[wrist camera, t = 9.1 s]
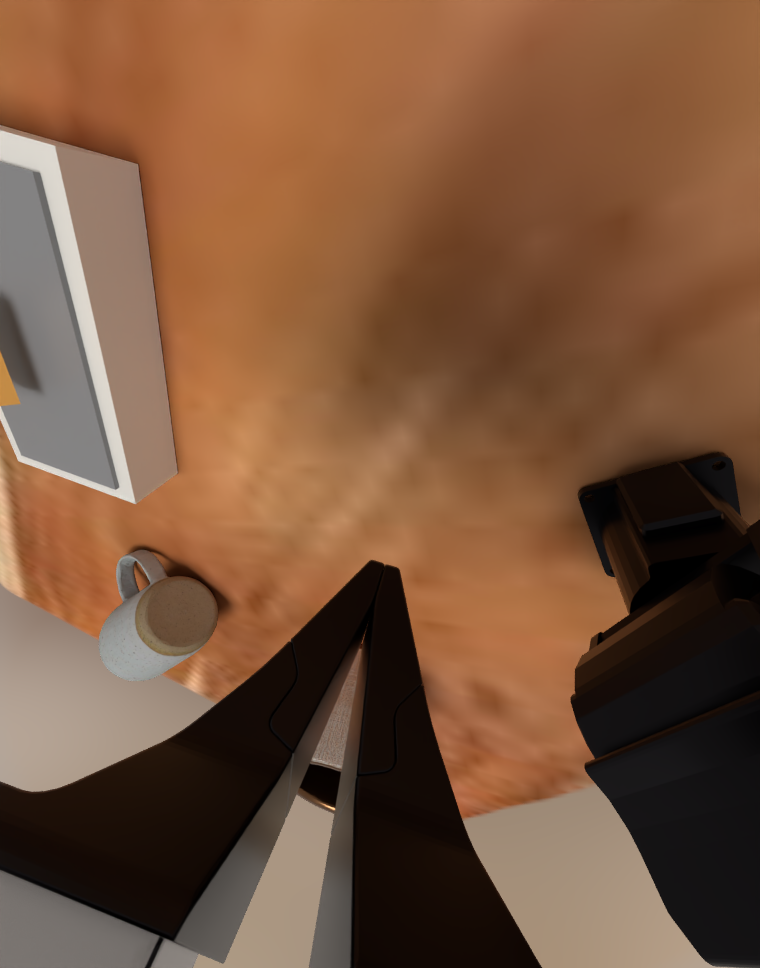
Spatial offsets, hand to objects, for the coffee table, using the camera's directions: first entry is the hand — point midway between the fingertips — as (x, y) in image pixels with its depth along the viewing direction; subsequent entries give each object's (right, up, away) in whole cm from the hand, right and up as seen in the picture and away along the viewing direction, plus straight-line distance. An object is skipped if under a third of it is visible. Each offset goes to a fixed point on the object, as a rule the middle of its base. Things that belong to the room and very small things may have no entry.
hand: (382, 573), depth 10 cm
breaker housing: (-18, +12, +12) cm, 25 cm away
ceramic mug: (-20, -7, +26) cm, 34 cm away
